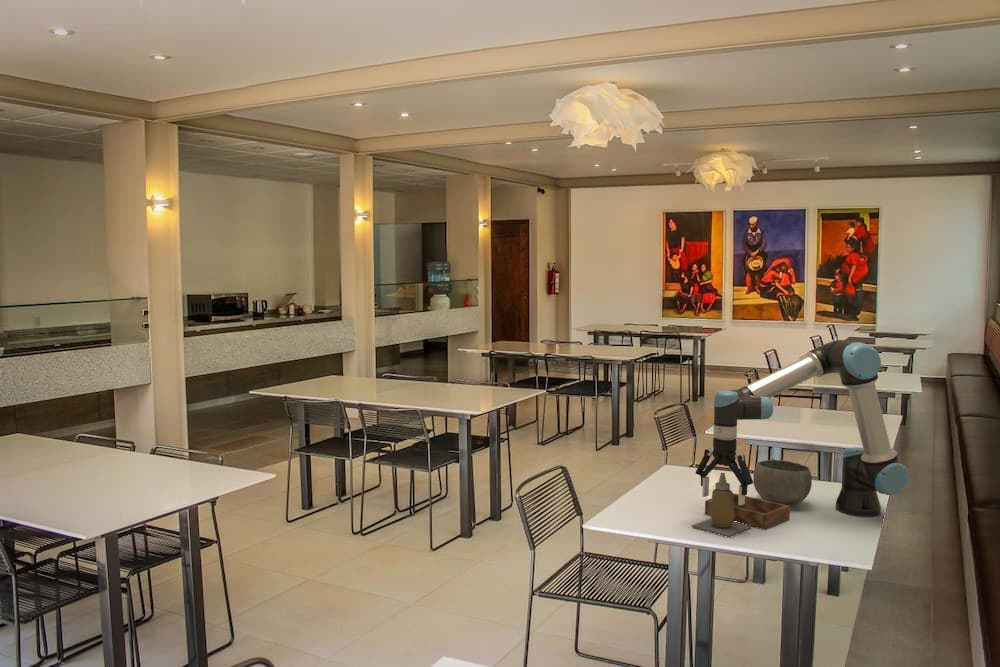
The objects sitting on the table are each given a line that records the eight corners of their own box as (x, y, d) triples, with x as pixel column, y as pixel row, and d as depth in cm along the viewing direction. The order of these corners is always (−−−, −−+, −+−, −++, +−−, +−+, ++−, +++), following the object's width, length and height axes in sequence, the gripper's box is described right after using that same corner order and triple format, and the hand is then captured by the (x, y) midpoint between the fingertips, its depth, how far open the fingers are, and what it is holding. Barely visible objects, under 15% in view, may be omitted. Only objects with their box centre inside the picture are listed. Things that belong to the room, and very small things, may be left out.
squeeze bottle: (717, 530, 273) (717, 476, 272) (705, 523, 281) (705, 471, 280) (739, 528, 275) (739, 475, 274) (727, 521, 283) (727, 469, 281)
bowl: (800, 515, 294) (802, 473, 293) (744, 505, 306) (745, 465, 305) (817, 503, 310) (819, 463, 309) (763, 493, 323) (765, 455, 322)
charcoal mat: (751, 529, 278) (751, 526, 278) (729, 537, 268) (729, 535, 268) (714, 519, 288) (714, 517, 288) (692, 527, 278) (692, 525, 278)
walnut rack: (789, 520, 288) (789, 505, 288) (765, 529, 277) (766, 515, 277) (729, 505, 305) (729, 492, 305) (704, 514, 294) (705, 500, 293)
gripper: (686, 433, 282) (685, 494, 284) (753, 445, 264) (751, 510, 266) (698, 430, 287) (697, 490, 289) (765, 441, 269) (763, 505, 271)
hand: (723, 500), depth 277 cm, fingers open, 13 cm apart
